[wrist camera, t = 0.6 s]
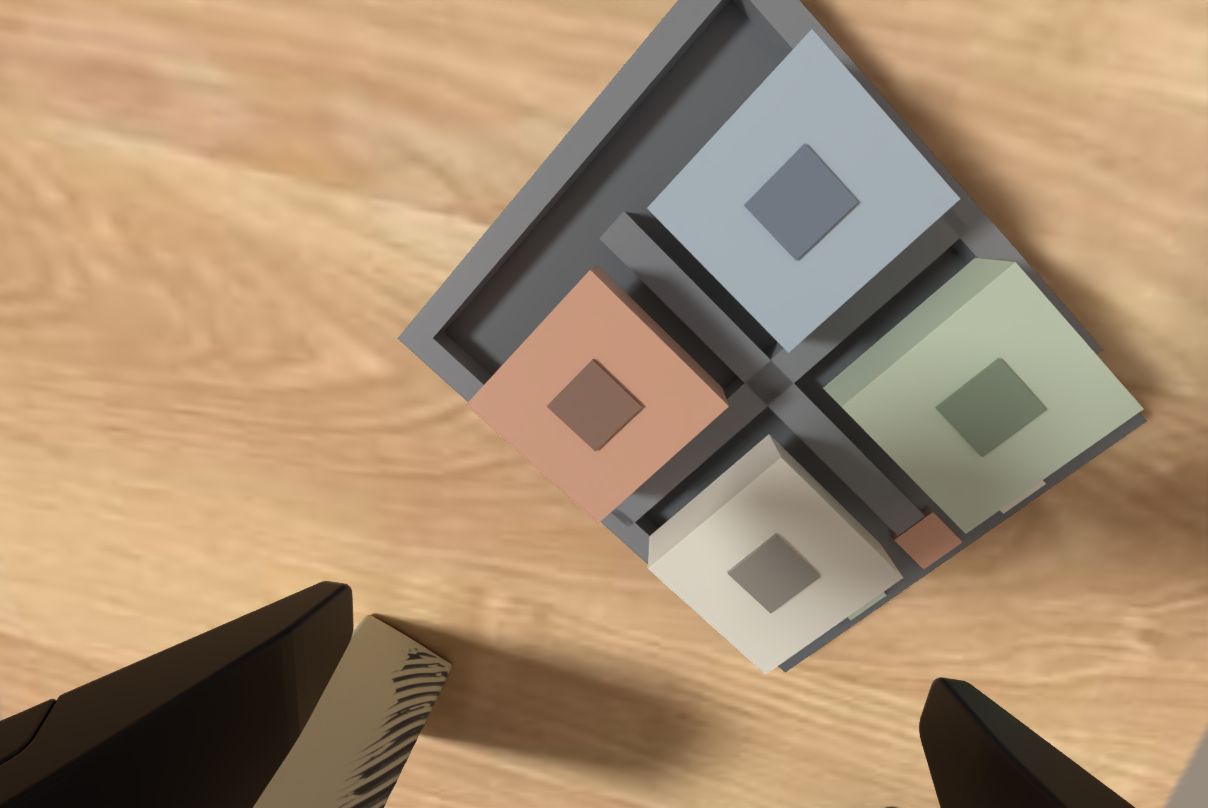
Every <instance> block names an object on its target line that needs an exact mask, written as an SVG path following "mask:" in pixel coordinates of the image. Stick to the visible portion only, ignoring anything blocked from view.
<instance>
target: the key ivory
mask: <svg viewBox="0 0 1208 808" xmlns="http://www.w3.org/2000/svg"><path fill="white" fill-rule="evenodd" d="M648 569H649V570H650V571H651V572H652V573H653V574H654V575H655V576H657V577H658V578H659V579H660V580H661V581H662V582H663V583H664V584H665V585H667V586H668V587H669V588H670V589H671V590H672V591H673V592H674V593H675V594H677V595H678V596H679V597H680V598H681V599H682V600H683V601H684V602H685V603H687V604H688V605H689V606H690V607H691V608H692V609H693V610H694V611H695V612H697V613H698V614H699V615H700V616H701V617H702V618H703V619H704V620H705V621H706V622H708V623H709V624H710V625H711V626H712V627H713V628H714V629H715V630H716V631H718V632H719V633H720V634H721V635H722V636H723V637H724V638H725V639H726V640H728V641H729V642H730V643H731V644H732V645H733V646H734V647H735V648H736V649H738V650H739V651H740V652H741V653H742V654H743V655H744V656H745V657H746V658H748V659H749V660H750V661H751V662H752V663H753V664H754V665H755V666H756V667H758V668H759V669H760V670H761V671H762V672H763V673H764V674H765V675H766V674H767V673H769V672H770V671H771V670H773V669H774V668H776V667H777V666H779V665H780V664H781V663H783V662H784V661H786V660H787V659H788V658H790V657H791V656H793V655H794V654H796V653H797V652H798V651H800V650H801V649H803V648H804V647H806V646H807V645H808V644H810V643H811V642H813V641H814V640H816V639H817V638H818V637H820V636H821V635H823V634H824V633H825V632H827V631H828V630H830V629H831V628H833V627H834V626H835V625H837V624H838V623H840V622H841V621H843V620H844V619H845V618H847V617H848V616H850V615H851V614H853V613H854V612H855V611H857V610H858V609H860V608H861V607H863V606H864V605H865V604H867V603H868V602H870V601H871V600H872V599H874V598H875V597H877V596H878V595H880V594H881V593H882V592H884V591H885V590H887V589H888V588H890V587H891V586H892V585H894V584H895V583H897V582H898V581H900V580H901V579H902V578H903V576H902V575H901V573H900V572H899V570H898V569H897V567H896V566H895V565H894V563H893V562H892V560H891V559H890V557H889V556H888V554H887V553H886V551H885V550H884V548H883V547H882V545H881V544H880V543H879V542H878V541H877V540H876V539H875V538H874V537H873V536H872V535H871V534H870V533H869V532H868V531H867V530H866V529H865V528H864V527H863V526H862V525H861V524H860V523H859V522H858V521H857V520H856V519H855V518H854V517H853V516H852V515H851V514H850V513H849V512H848V511H847V510H846V509H845V508H844V507H843V506H842V505H841V504H840V503H839V502H838V501H837V500H836V499H835V498H834V497H833V496H832V495H831V494H830V493H828V492H827V491H826V490H825V489H824V488H823V487H822V486H821V485H820V484H819V483H818V482H817V481H816V480H815V479H814V478H813V477H812V476H811V475H810V474H809V473H808V472H807V471H806V470H805V469H804V468H803V467H802V466H801V465H800V464H799V463H798V462H797V461H796V460H795V459H794V458H793V457H792V456H791V455H790V454H789V453H788V452H787V451H786V450H785V449H784V448H783V447H782V446H781V445H780V444H779V443H778V442H777V441H776V440H775V439H774V438H773V437H772V436H771V435H770V434H769V435H768V436H766V437H765V438H764V439H763V440H762V441H761V442H759V443H758V444H757V445H756V446H755V447H753V448H752V449H751V450H750V451H749V452H748V453H746V454H745V455H744V456H743V457H742V458H741V459H739V460H738V461H737V462H736V463H735V464H734V465H732V466H731V467H730V468H729V469H728V470H727V471H725V472H724V473H723V474H722V475H721V476H720V477H718V478H717V479H716V480H715V481H714V482H713V483H711V484H710V485H709V486H708V487H707V488H706V489H704V490H703V491H702V492H701V493H700V494H699V495H697V496H696V497H695V498H694V499H693V500H692V501H690V502H689V503H688V504H687V505H686V506H685V507H683V508H682V509H681V510H680V511H679V512H678V513H676V514H675V515H674V516H673V517H672V518H670V519H669V520H668V521H667V522H666V523H665V524H663V525H662V526H661V527H660V528H659V529H658V530H656V531H655V532H654V533H653V534H652V535H651V536H649V555H648Z"/></svg>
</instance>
